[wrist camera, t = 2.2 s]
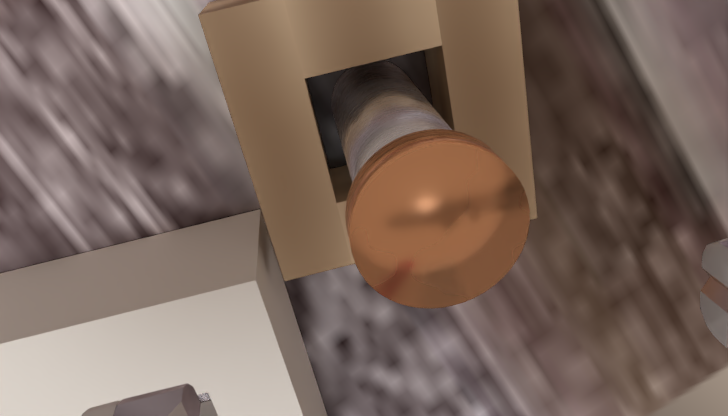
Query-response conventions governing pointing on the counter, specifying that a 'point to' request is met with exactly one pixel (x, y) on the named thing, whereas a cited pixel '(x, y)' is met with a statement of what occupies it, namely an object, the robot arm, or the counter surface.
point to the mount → (345, 50)
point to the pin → (422, 194)
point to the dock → (157, 326)
